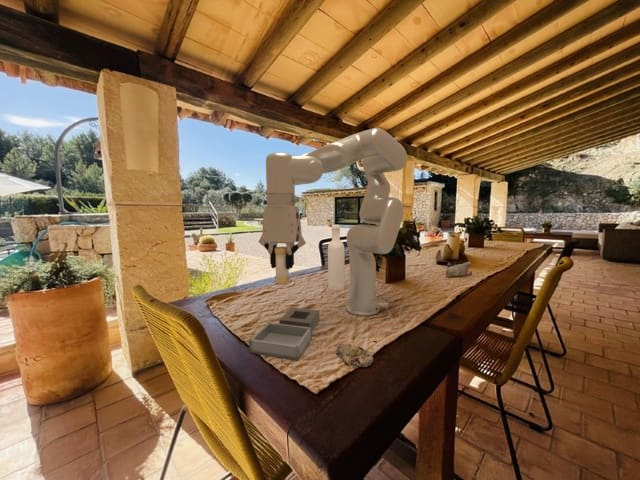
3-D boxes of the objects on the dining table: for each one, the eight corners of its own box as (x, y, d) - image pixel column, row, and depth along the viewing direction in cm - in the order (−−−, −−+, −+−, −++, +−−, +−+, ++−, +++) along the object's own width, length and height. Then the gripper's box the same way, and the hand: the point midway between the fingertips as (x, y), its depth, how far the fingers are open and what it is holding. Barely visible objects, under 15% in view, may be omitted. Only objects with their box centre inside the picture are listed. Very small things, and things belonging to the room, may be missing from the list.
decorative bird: (442, 276, 138) (442, 263, 137) (465, 273, 143) (466, 260, 142) (450, 279, 133) (451, 265, 132) (473, 276, 138) (474, 262, 137)
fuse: (291, 281, 73) (291, 246, 72) (285, 285, 70) (285, 249, 69) (279, 280, 75) (278, 246, 74) (272, 284, 71) (271, 248, 70)
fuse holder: (319, 320, 88) (319, 310, 87) (309, 334, 78) (309, 323, 78) (292, 317, 91) (291, 307, 90) (279, 330, 81) (279, 319, 81)
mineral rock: (381, 349, 65) (364, 354, 60) (379, 367, 65) (362, 374, 59) (347, 337, 73) (329, 340, 67) (345, 353, 72) (327, 358, 66)
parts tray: (312, 338, 75) (311, 327, 75) (298, 360, 65) (297, 347, 64) (268, 333, 79) (268, 322, 79) (249, 352, 69) (248, 340, 68)
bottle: (324, 289, 120) (323, 225, 116) (333, 284, 127) (332, 224, 123) (340, 292, 116) (339, 225, 112) (347, 287, 123) (347, 224, 119)
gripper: (314, 201, 71) (314, 266, 73) (260, 202, 76) (262, 263, 78) (304, 200, 64) (305, 273, 66) (246, 201, 69) (248, 268, 71)
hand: (282, 267), depth 72 cm, fingers closed on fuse, 3 cm apart
